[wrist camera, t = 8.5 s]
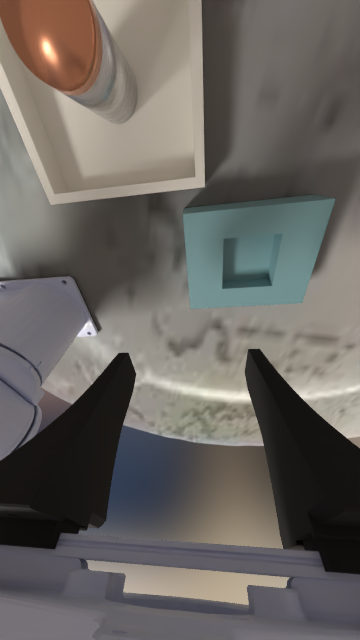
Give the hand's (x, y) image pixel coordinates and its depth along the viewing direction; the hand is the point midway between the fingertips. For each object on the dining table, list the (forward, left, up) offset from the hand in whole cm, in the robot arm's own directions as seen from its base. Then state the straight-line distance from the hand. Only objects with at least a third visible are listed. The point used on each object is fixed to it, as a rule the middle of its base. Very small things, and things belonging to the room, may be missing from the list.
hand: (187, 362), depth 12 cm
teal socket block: (+5, +3, -10) cm, 12 cm away
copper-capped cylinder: (-4, +14, -10) cm, 17 cm away
